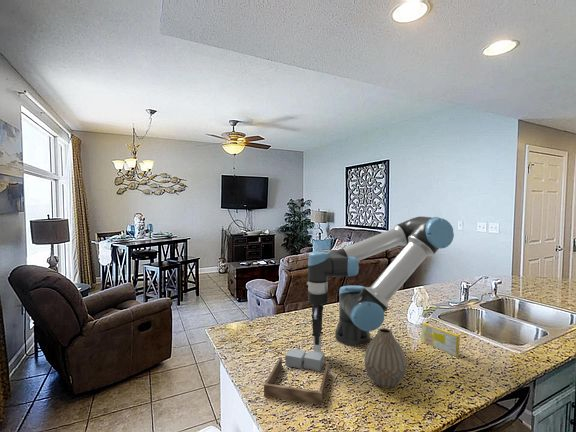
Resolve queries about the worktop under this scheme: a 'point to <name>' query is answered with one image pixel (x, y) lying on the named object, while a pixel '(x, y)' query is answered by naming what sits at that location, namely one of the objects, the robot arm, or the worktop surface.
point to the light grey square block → (314, 360)
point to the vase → (385, 359)
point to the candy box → (440, 339)
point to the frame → (292, 392)
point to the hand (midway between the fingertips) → (317, 351)
